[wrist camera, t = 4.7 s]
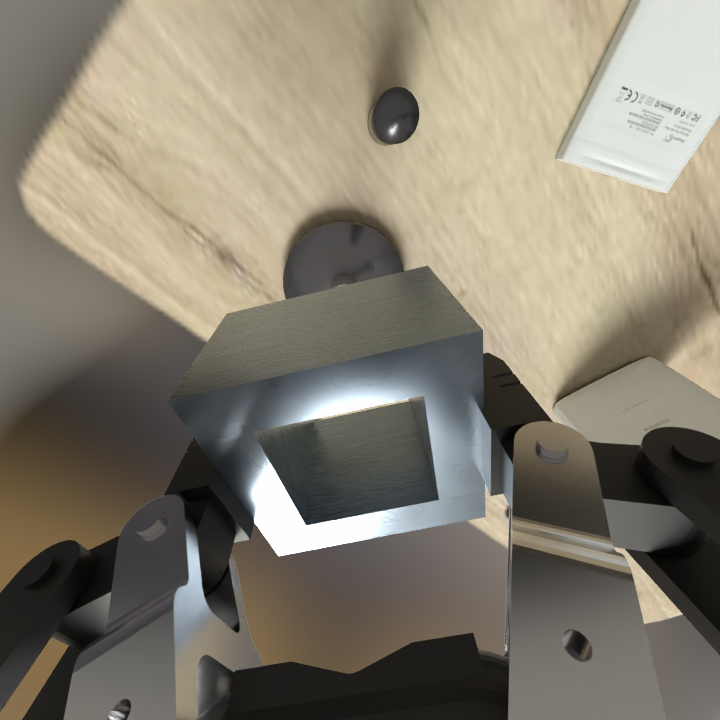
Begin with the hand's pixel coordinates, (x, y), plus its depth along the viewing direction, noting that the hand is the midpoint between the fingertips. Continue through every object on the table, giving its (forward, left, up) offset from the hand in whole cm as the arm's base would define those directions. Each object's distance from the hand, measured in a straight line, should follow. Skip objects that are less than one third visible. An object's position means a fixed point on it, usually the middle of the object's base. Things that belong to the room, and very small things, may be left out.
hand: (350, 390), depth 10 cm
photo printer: (-21, +19, -16) cm, 33 cm away
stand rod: (-4, -7, -16) cm, 18 cm away
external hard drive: (-21, -6, -17) cm, 28 cm away
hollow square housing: (0, 0, -1) cm, 1 cm away
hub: (+1, +2, -16) cm, 16 cm away
